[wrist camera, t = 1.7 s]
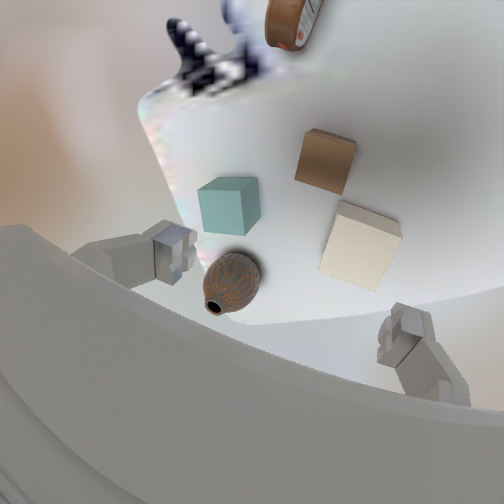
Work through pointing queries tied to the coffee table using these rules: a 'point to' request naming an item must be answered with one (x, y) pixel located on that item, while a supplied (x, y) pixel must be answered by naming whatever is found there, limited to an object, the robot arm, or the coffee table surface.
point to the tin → (290, 22)
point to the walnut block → (325, 160)
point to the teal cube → (229, 205)
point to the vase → (230, 283)
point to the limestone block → (360, 246)
